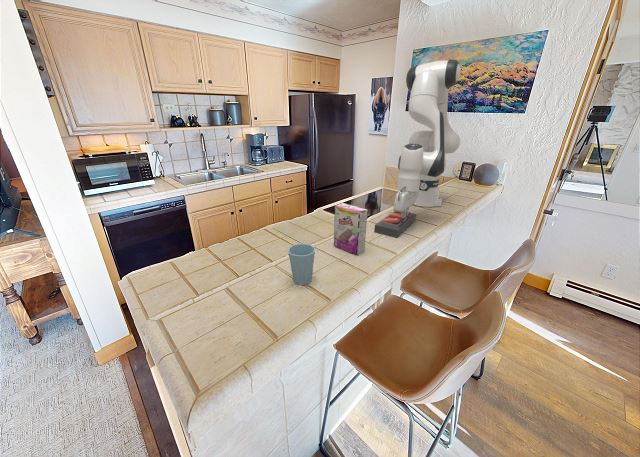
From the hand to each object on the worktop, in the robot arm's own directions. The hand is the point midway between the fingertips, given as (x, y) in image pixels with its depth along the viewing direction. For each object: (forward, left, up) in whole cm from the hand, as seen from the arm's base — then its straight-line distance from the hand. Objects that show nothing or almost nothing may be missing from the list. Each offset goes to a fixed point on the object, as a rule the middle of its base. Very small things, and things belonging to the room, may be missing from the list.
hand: (403, 216), depth 116 cm
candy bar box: (+31, -9, -6) cm, 33 cm away
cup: (+57, -10, -6) cm, 59 cm away
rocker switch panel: (-3, -3, -6) cm, 7 cm away
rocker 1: (+6, -3, -1) cm, 7 cm away
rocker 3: (-8, -3, -1) cm, 8 cm away
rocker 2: (-1, -3, -1) cm, 3 cm away
